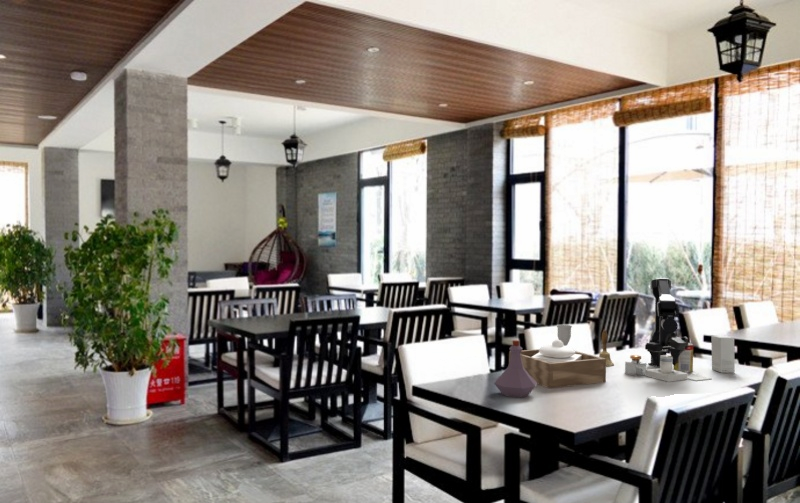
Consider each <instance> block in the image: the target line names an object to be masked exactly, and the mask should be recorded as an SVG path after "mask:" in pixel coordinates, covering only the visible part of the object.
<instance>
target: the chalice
mask: <svg viewBox="0 0 800 503" xmlns="http://www.w3.org/2000/svg"><path fill="white" fill-rule="evenodd" d="M556 328H557V340H561V341H562V342H563V344H564V346H568V345H569V342H570V340H571V337H572V328H573V326H572V325H570V324H557V325H556Z"/></svg>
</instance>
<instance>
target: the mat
mask: <svg viewBox="0 0 800 503" xmlns="http://www.w3.org/2000/svg"><path fill="white" fill-rule="evenodd" d="M712 379H713V378H712V377H707V376H703V375H699V374H696V373H695V374H694V373H691V374H687V379H686V380H690V381H694V382H700V381H702V382H703V381H711V380H712Z"/></svg>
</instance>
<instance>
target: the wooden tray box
mask: <svg viewBox="0 0 800 503" xmlns="http://www.w3.org/2000/svg"><path fill="white" fill-rule="evenodd" d="M539 349H540V348H538V349H537V348H536V349H527V350H526V349H524V350H523V349H522V351H521V359H522V363H523V367H524V368H525V370H526V371H527V372H528V374H529V375H530V376H531V377H532V378H533V379H534V380H535V381H536V382H537V384H536V385H539V386H543V387H546V388H548V389H554V388H563V387H572V386H580V385H581V386H582V385H583V386H584V385H589V384H601V383H606V380H607V366H606V359H605V358H601V357H599V356H596V355H594V354H588V353H584V352H581V351H577V350H575V352H576V353H575V354H580V355H582V357H581V360H577V361H566V362H555V363H550V362H546V361H543V360H539V359H536V358H533V357H532V356H534V355H535V354H537V353H539ZM510 358H511V351H510V350H509V351H508V362H509V361H510Z"/></svg>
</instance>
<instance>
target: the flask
mask: <svg viewBox="0 0 800 503" xmlns="http://www.w3.org/2000/svg"><path fill="white" fill-rule="evenodd" d="M510 351H511V358H510V361H509V360H508V365H507V367H506V368H505V369H504V371H503V372H502V373H501V374H500V375H499V376H498V377H497V378H496V379H495V381H494V382H493V384H494V386H495V387H496V388H497V390H499V392H500V393H501V394H502V395H503V396H505V397H508V398H518V399H519V398H520V399H521V398H526V397H528V396H529V395H530V394H531V392H532V391H533V390H534V389H535V388H536V387H537V385H538V384H537V382H536V381H535V380H534V379H533V378H532V377H531V376H530V375H529V374H528V372H527V371H526V370H525V368H524V367H523V363H522V359H521V351H523V347H522V346H520V340H517V339H515V340H512V345H511V346H510V347H509V352H510Z"/></svg>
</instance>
